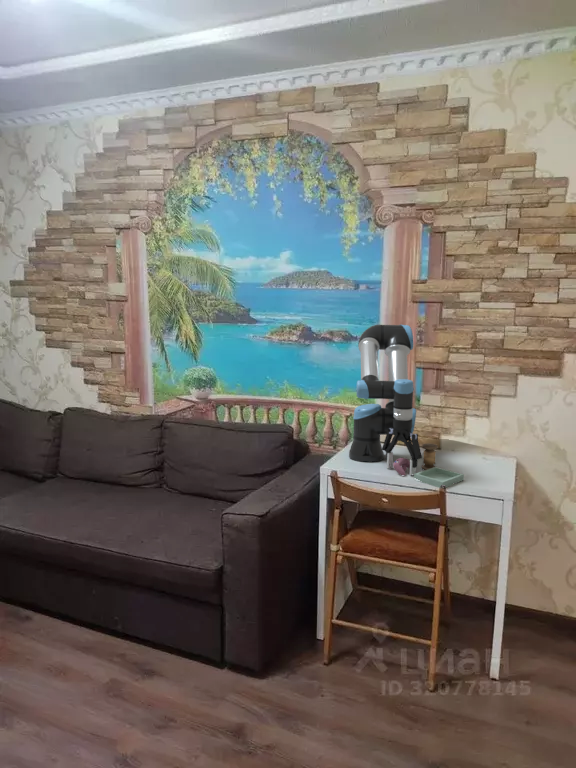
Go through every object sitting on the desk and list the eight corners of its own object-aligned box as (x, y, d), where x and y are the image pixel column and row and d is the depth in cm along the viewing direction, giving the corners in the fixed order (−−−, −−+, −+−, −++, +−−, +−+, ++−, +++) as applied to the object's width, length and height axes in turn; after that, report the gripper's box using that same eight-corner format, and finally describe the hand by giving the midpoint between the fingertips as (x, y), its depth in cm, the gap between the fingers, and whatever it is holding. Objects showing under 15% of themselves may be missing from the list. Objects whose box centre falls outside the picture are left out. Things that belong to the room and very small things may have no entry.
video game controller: (407, 472, 237) (401, 456, 238) (416, 470, 234) (410, 453, 235) (396, 478, 229) (389, 462, 230) (405, 476, 227) (398, 459, 228)
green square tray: (413, 479, 223) (414, 473, 223) (435, 472, 232) (435, 466, 232) (442, 488, 214) (442, 482, 213) (463, 480, 223) (463, 474, 222)
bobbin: (418, 468, 237) (419, 445, 236) (427, 465, 241) (428, 442, 240) (430, 472, 233) (431, 448, 231) (439, 469, 237) (440, 445, 235)
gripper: (374, 414, 236) (372, 466, 239) (421, 424, 218) (418, 480, 222) (386, 412, 241) (384, 463, 244) (432, 422, 223) (430, 476, 227)
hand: (400, 471), depth 233 cm, fingers open, 11 cm apart
